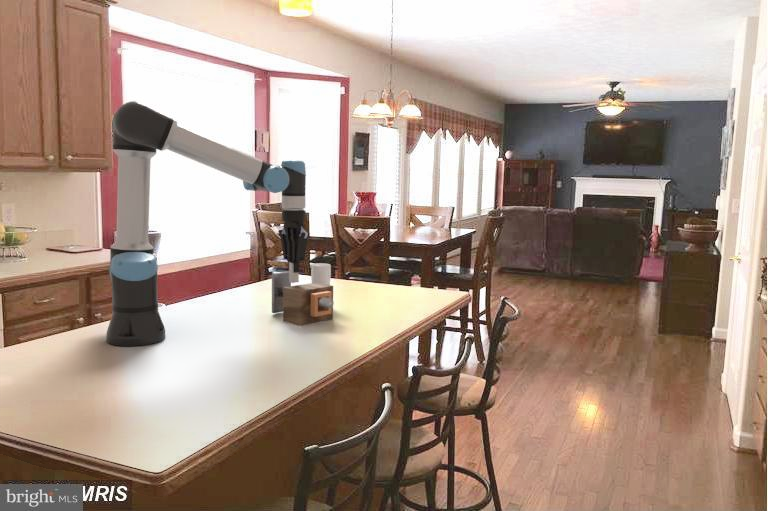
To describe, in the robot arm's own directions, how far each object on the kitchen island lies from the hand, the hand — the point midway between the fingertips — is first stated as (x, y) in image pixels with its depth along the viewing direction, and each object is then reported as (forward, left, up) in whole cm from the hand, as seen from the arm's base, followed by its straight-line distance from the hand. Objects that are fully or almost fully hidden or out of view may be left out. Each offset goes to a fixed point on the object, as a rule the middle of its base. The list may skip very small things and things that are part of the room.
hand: (293, 282), depth 207 cm
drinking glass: (+16, +5, -11) cm, 20 cm away
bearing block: (0, -7, -11) cm, 13 cm away
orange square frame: (0, -13, -5) cm, 14 cm away
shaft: (0, -5, -11) cm, 12 cm away
